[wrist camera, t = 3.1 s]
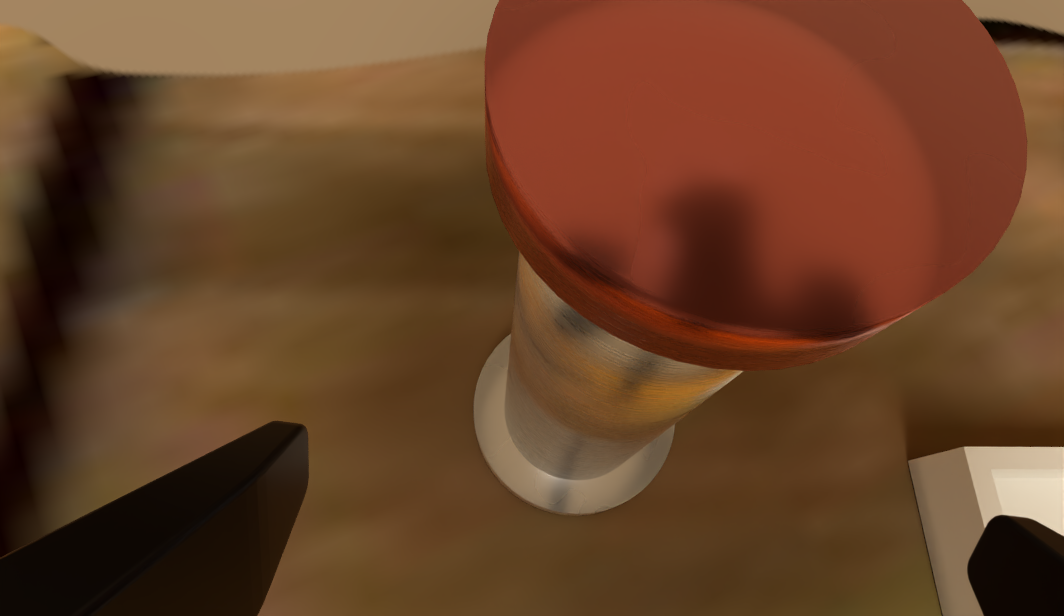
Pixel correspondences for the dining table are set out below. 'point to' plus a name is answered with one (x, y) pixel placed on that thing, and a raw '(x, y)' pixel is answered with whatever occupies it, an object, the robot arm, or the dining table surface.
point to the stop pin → (720, 208)
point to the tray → (981, 506)
